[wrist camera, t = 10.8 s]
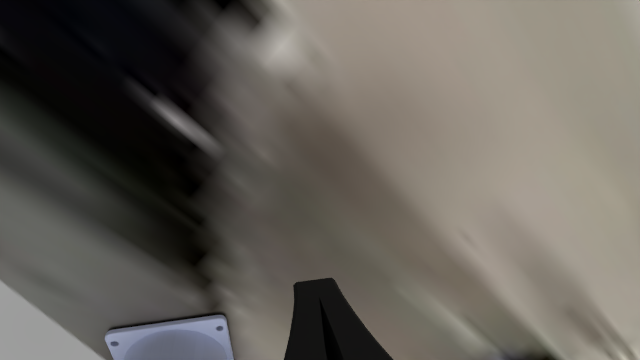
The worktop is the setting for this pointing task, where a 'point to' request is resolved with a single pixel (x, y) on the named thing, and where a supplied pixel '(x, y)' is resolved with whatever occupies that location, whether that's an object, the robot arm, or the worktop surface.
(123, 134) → the worktop surface
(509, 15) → the worktop surface
